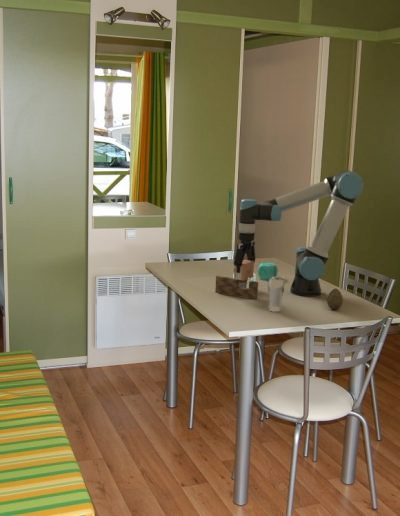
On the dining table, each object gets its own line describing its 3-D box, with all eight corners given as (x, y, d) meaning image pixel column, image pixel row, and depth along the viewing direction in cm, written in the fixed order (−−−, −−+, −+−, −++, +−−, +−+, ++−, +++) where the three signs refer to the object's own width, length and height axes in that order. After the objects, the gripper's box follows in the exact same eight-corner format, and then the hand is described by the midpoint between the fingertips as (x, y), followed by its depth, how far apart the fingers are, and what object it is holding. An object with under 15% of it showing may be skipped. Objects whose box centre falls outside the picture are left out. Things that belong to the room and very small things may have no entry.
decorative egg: (324, 307, 319) (326, 286, 317) (339, 307, 320) (341, 286, 318) (328, 311, 312) (330, 290, 310) (343, 311, 313) (345, 290, 311)
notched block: (244, 275, 337) (245, 259, 336) (253, 276, 335) (254, 260, 333) (234, 278, 329) (235, 262, 327) (243, 280, 326) (244, 264, 325)
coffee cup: (247, 290, 345) (249, 261, 342) (231, 289, 347) (232, 260, 344) (249, 286, 353) (251, 258, 350) (233, 285, 355) (235, 257, 352)
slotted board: (257, 298, 331) (258, 282, 329) (255, 299, 329) (256, 283, 327) (217, 291, 342) (218, 275, 340) (215, 291, 340) (216, 276, 338)
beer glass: (272, 307, 316) (274, 275, 313) (285, 310, 311) (287, 278, 308) (264, 310, 310) (266, 277, 307) (277, 313, 306) (279, 280, 303)
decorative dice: (270, 281, 368) (271, 266, 367) (257, 278, 373) (258, 264, 371) (277, 278, 375) (278, 264, 373) (264, 276, 379) (265, 262, 378)
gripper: (250, 228, 339) (247, 272, 343) (228, 233, 320) (225, 280, 324) (264, 230, 335) (261, 274, 339) (242, 235, 316) (239, 282, 320)
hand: (243, 277), depth 332 cm, fingers closed on notched block, 10 cm apart
